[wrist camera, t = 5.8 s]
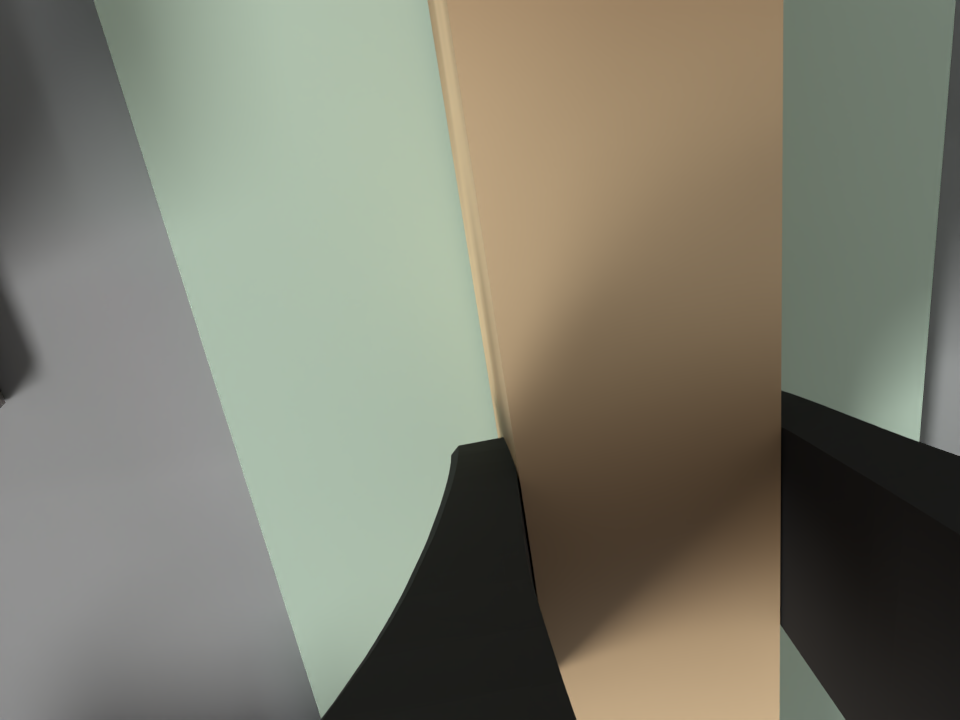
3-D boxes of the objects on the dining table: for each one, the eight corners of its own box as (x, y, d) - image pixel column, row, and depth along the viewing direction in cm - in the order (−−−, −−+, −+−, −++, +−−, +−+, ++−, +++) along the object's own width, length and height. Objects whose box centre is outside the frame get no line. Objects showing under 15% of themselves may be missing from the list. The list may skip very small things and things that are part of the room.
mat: (868, 829, 17) (884, 857, 16) (397, 930, 16) (398, 962, 16) (971, -650, 8) (1014, -700, 7) (-49, -515, 8) (-83, -557, 7)
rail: (713, 816, 15) (783, 988, 12) (561, 848, 15) (600, 1028, 12) (662, -310, 8) (799, -466, 5) (379, -267, 8) (377, -408, 5)
